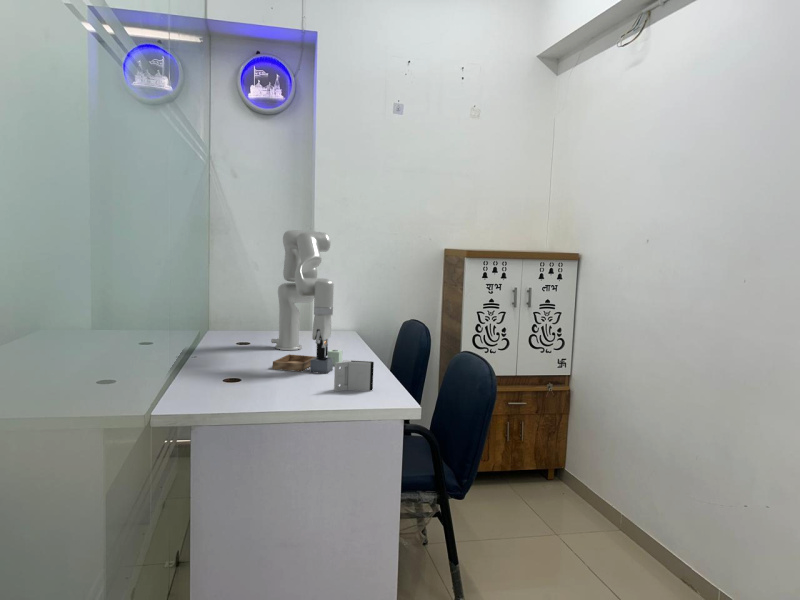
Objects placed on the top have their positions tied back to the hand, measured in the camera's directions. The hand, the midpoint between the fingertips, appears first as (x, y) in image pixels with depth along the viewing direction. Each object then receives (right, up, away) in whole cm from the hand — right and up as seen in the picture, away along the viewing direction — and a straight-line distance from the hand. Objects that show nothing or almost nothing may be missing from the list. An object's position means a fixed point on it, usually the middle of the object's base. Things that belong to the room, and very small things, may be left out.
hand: (322, 356), depth 226 cm
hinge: (+15, -9, -27) cm, 32 cm away
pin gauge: (0, -3, 0) cm, 3 cm away
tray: (-12, -5, +7) cm, 15 cm away
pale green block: (+4, -5, +14) cm, 15 cm away
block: (0, -6, +1) cm, 6 cm away
